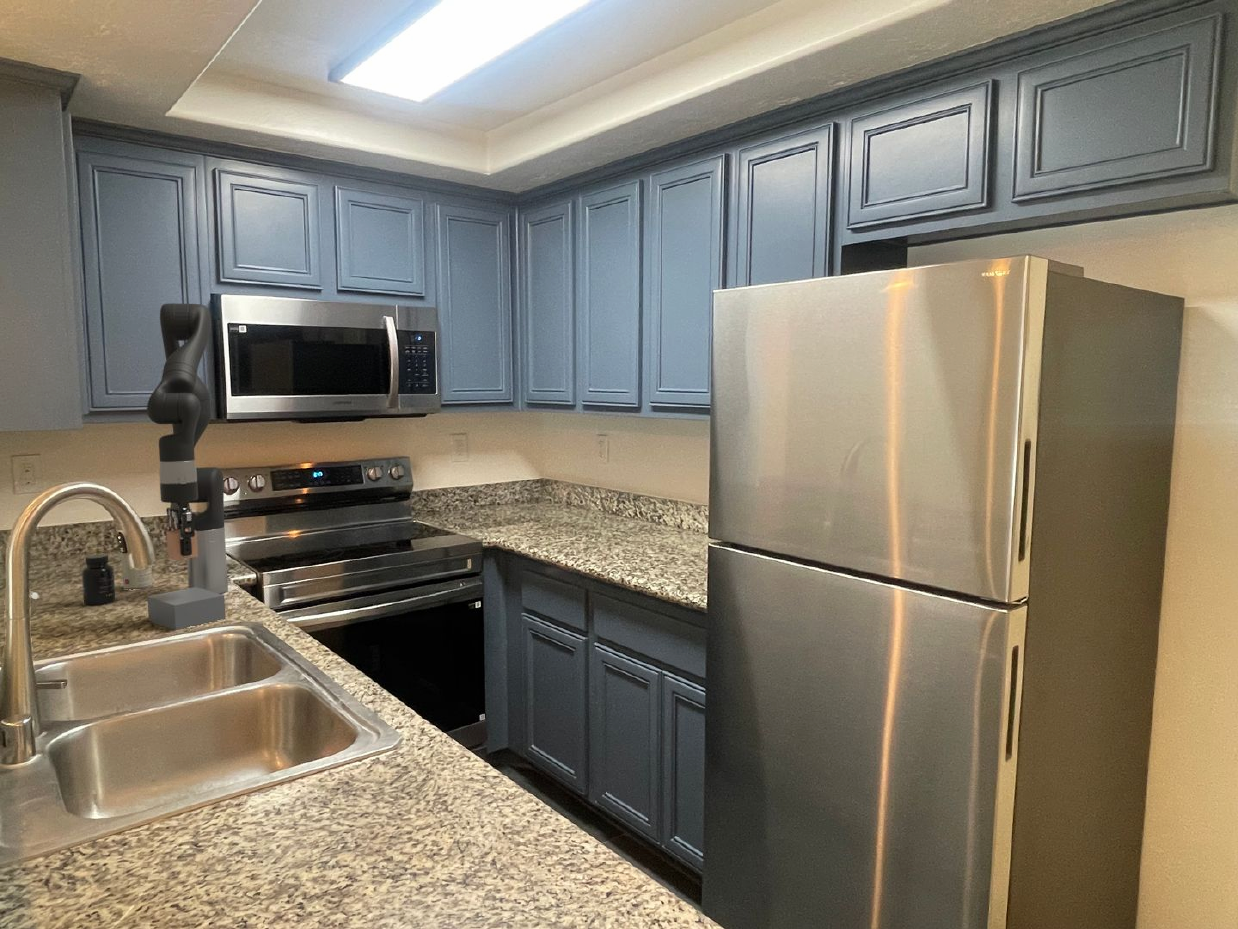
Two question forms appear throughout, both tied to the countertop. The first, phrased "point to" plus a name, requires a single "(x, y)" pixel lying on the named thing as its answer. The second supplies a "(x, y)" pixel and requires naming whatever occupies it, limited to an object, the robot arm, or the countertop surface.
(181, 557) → the terracotta block
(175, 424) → the robot arm
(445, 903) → the countertop surface
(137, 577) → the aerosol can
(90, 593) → the supplement bottle
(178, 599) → the charcoal storage box
